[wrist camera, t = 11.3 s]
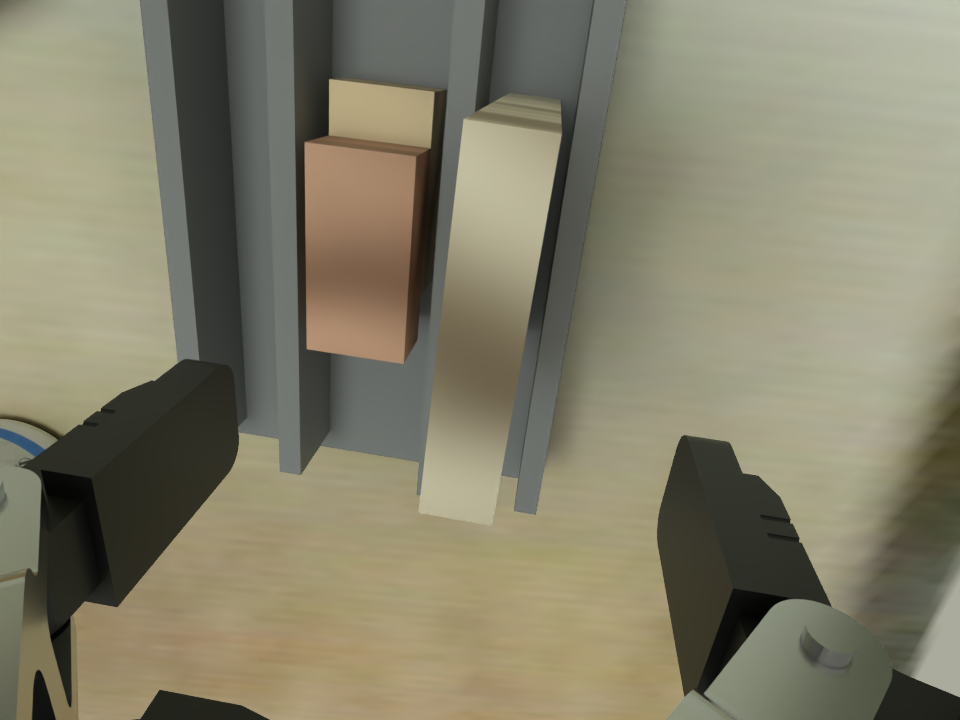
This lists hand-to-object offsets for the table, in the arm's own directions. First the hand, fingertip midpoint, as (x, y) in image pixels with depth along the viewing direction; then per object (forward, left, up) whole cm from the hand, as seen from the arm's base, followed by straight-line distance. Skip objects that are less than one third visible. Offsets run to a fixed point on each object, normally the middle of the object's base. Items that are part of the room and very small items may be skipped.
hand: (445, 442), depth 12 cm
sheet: (0, 0, -18) cm, 18 cm away
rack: (0, -6, -19) cm, 20 cm away
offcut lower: (-1, -6, -18) cm, 19 cm away
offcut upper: (+1, -6, -16) cm, 17 cm away
